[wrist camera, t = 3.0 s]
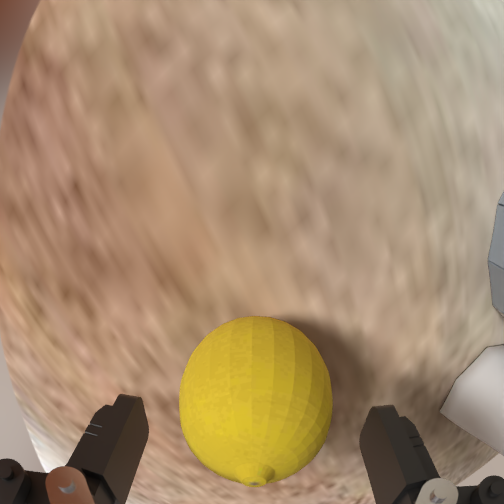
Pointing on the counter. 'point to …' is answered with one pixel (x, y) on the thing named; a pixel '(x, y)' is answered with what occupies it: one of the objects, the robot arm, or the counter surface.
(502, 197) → the dish
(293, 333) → the lemon
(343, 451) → the counter surface
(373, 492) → the robot arm
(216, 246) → the counter surface
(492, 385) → the flask
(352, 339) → the counter surface
